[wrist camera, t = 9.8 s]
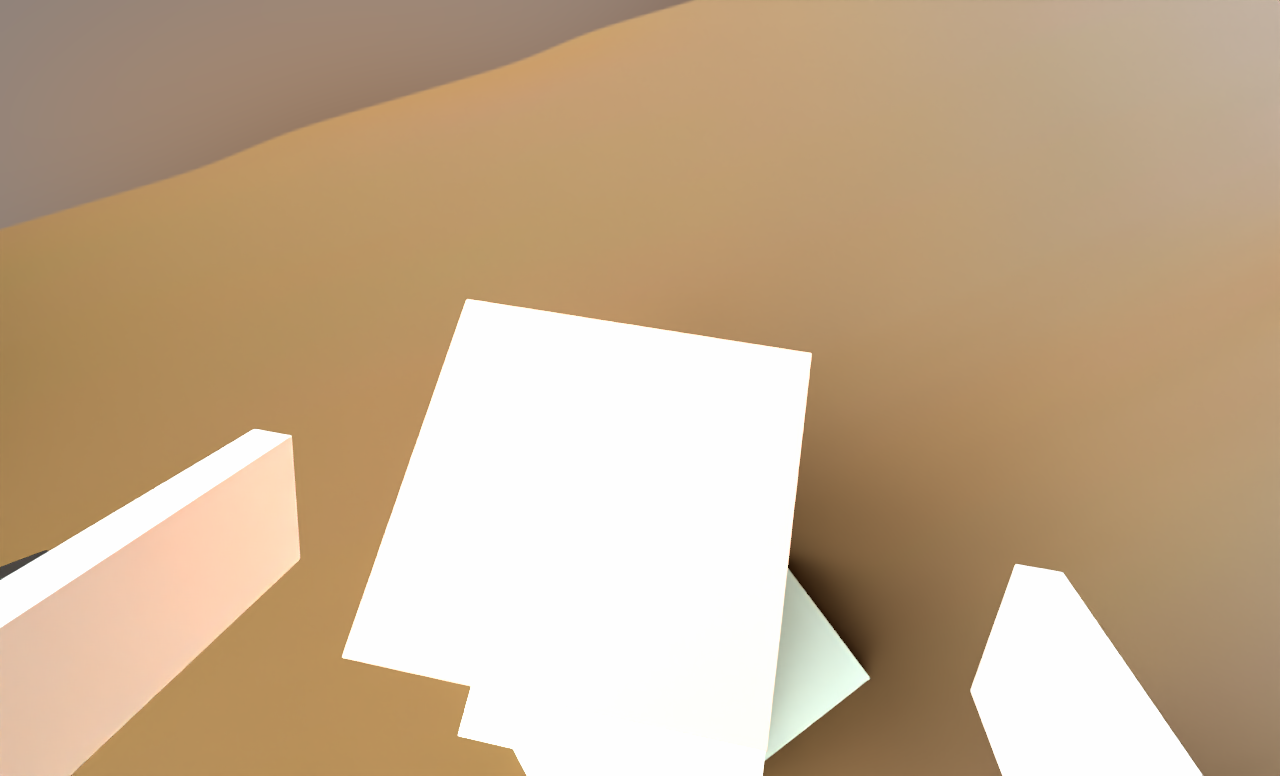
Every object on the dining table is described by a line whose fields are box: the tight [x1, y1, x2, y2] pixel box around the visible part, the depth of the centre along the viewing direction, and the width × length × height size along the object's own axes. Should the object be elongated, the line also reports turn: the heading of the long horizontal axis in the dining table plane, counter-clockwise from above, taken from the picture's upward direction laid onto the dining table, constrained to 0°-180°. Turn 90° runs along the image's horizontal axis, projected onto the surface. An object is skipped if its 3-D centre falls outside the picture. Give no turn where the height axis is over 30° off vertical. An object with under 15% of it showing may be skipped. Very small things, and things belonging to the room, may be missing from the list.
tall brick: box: [342, 299, 812, 752], centre depth 15 cm, size 5×5×12 cm
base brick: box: [458, 686, 765, 776], centre depth 22 cm, size 8×8×5 cm
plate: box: [513, 568, 870, 776], centre depth 25 cm, size 11×11×1 cm
